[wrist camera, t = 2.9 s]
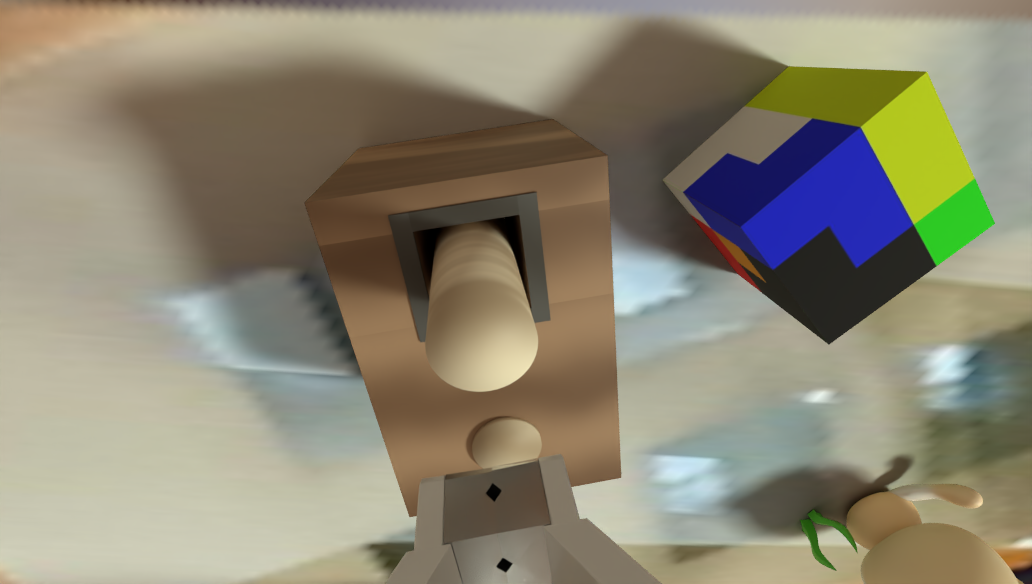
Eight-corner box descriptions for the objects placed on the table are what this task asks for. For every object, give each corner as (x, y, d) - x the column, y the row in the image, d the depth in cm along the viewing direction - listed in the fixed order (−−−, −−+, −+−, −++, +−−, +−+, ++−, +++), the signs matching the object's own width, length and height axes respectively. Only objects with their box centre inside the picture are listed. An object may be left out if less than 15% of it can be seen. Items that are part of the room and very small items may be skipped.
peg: (509, 255, 27) (543, 381, 16) (443, 265, 27) (437, 400, 16) (499, 191, 25) (531, 286, 15) (430, 201, 25) (413, 306, 15)
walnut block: (574, 358, 38) (622, 481, 27) (422, 385, 38) (409, 521, 27) (552, 119, 30) (609, 157, 19) (358, 148, 30) (302, 205, 19)
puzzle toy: (661, 179, 33) (740, 227, 24) (788, 66, 30) (927, 71, 21) (737, 273, 37) (828, 344, 28) (854, 179, 34) (994, 223, 25)
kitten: (793, 555, 53) (908, 724, 40) (795, 494, 49) (925, 661, 35) (926, 519, 53) (1085, 677, 40) (940, 454, 48) (1126, 608, 35)
